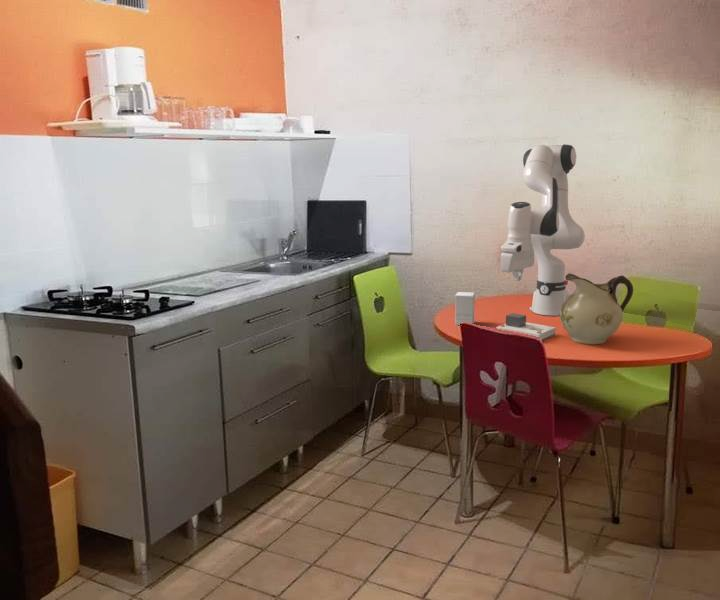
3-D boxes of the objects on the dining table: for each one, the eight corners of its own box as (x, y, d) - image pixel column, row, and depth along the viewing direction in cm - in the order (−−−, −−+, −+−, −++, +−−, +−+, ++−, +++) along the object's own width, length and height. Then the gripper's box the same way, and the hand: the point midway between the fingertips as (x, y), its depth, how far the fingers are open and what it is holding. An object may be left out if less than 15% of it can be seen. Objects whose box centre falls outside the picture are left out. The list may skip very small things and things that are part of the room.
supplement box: (474, 321, 296) (475, 292, 293) (472, 326, 289) (473, 295, 286) (456, 320, 297) (457, 291, 295) (454, 325, 290) (455, 295, 288)
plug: (511, 327, 281) (512, 313, 280) (525, 330, 278) (526, 315, 276) (505, 330, 278) (506, 315, 276) (519, 332, 274) (519, 317, 273)
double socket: (513, 327, 286) (514, 319, 285) (555, 334, 274) (555, 326, 274) (496, 334, 276) (496, 325, 275) (538, 342, 264) (538, 333, 263)
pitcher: (547, 340, 266) (551, 275, 261) (575, 328, 283) (580, 267, 278) (604, 352, 251) (610, 283, 246) (631, 339, 268) (637, 274, 263)
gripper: (524, 241, 280) (523, 275, 283) (498, 247, 265) (496, 283, 268) (539, 242, 276) (537, 277, 279) (513, 249, 261) (511, 285, 264)
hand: (517, 280), depth 273 cm, fingers closed
